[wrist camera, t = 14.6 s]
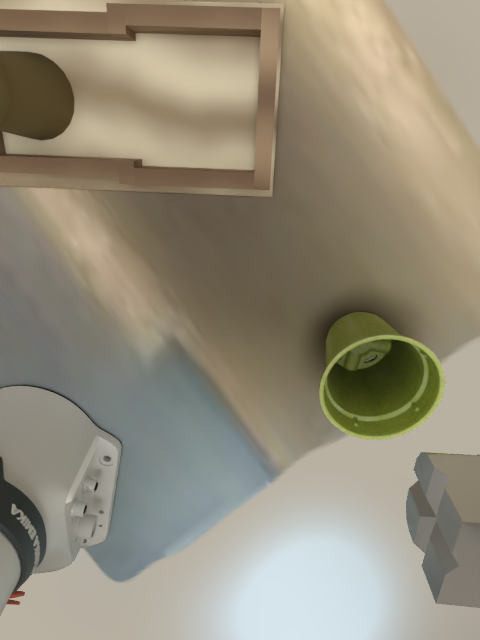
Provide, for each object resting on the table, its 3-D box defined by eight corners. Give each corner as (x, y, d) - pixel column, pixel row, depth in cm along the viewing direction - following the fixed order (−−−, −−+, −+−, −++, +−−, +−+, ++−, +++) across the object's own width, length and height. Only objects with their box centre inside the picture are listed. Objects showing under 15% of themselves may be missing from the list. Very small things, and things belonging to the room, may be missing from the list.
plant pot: (427, 349, 41) (467, 401, 33) (342, 399, 44) (361, 459, 36) (375, 274, 39) (405, 311, 31) (288, 331, 41) (295, 379, 33)
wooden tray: (271, 195, 36) (272, 201, 33) (-35, 182, 37) (-63, 187, 34) (283, 7, 31) (286, -7, 28) (-73, -4, 32) (-111, -19, 29)
